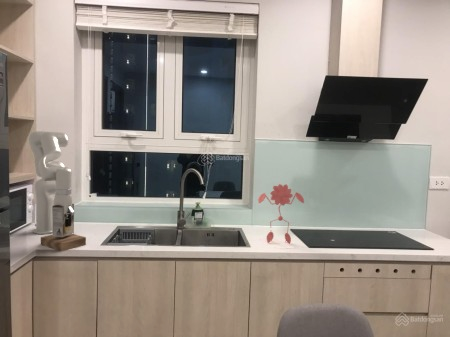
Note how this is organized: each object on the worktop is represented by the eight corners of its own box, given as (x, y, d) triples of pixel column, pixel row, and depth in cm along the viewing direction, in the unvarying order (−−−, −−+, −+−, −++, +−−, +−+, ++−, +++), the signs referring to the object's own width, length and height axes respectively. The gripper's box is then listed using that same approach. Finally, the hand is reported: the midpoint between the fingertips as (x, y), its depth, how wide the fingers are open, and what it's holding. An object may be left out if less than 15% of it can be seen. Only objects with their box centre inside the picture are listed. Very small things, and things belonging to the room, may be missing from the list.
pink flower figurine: (256, 239, 206) (259, 181, 202) (299, 242, 203) (303, 183, 200) (256, 247, 190) (259, 185, 187) (303, 250, 188) (307, 187, 185)
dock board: (40, 244, 180) (40, 237, 180) (65, 238, 192) (65, 231, 192) (61, 251, 171) (61, 243, 171) (85, 244, 183) (85, 237, 183)
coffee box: (63, 231, 187) (64, 202, 186) (74, 233, 185) (74, 203, 184) (51, 236, 178) (52, 205, 177) (62, 237, 176) (63, 206, 175)
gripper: (46, 190, 181) (46, 223, 183) (67, 194, 172) (67, 229, 174) (60, 189, 188) (59, 221, 189) (80, 193, 179) (80, 226, 180)
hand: (63, 224), depth 181 cm, fingers closed on coffee box, 7 cm apart
